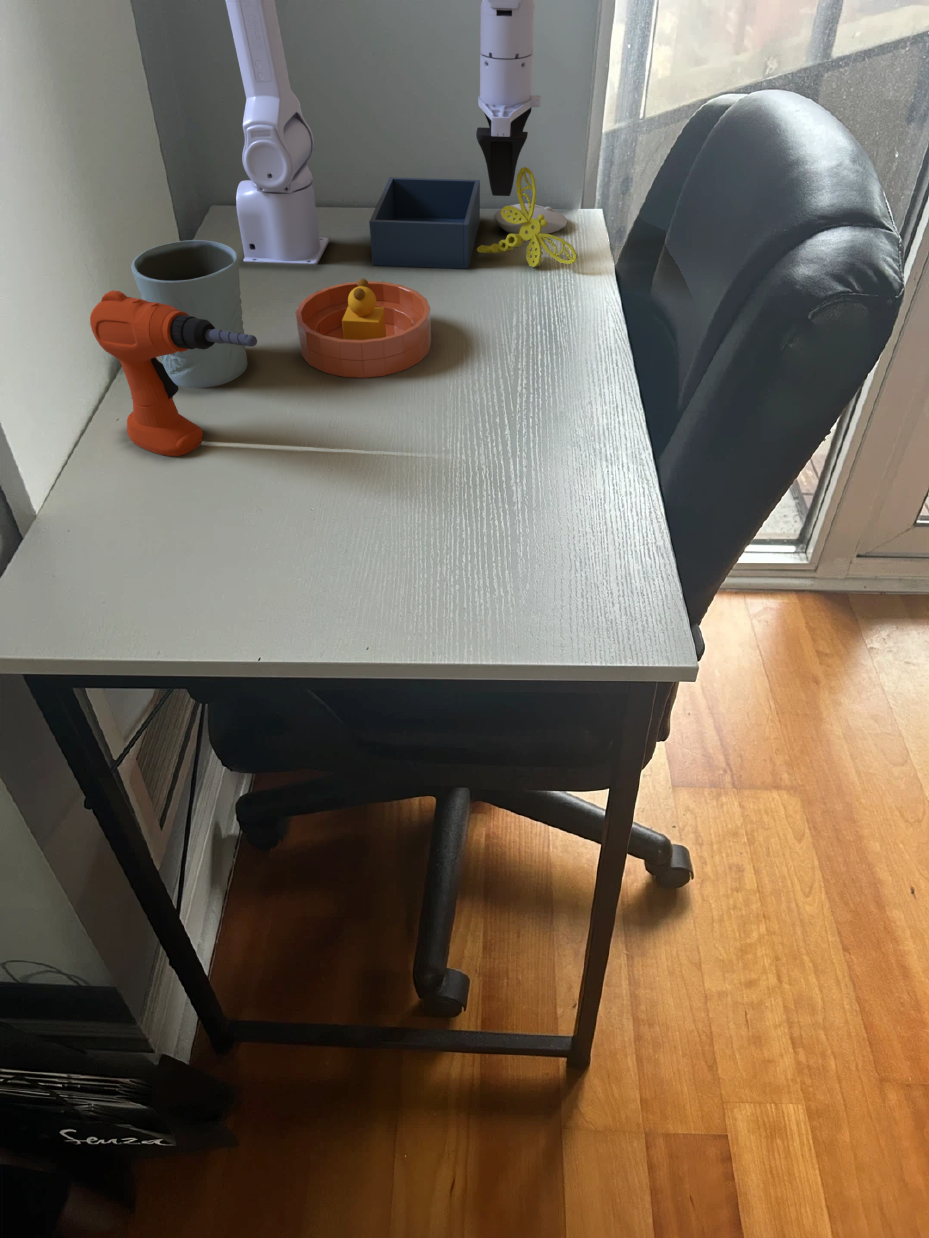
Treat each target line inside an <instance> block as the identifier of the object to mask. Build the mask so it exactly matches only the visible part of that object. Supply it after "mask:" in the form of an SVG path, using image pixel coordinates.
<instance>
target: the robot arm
mask: <svg viewBox="0 0 929 1238" xmlns="http://www.w3.org/2000/svg"><path fill="white" fill-rule="evenodd" d="M225 5H226V9H227V14H228V18H229V24H230V28H231V33H232V38H233V43H234V47H235V51H236V56H237V61H238V64H239V70H240V71H239V72H240V75H241V81H242V86H243V89H244V94H245V95H244V96H245V100H246V101H245V106H244V111H243V118H242V119H243V120H242V131H243V135H244V145H243V149H242V155H241V160H242V166H243V168H244V171H245V173H246V175H247V176H248V178H249V179H248V180H247V179H246V180H241V181H240V182H239V183H238V186H237V188H236V195H235V196H236V197H235V198H236V199H235V201H236V203H235V204H236V214H237V221H238V226H239V227H238V228H239V231H240V232H239V233H240V239H241V243H242V248H243V254H244V258H243V259H242V261H243V262H244V263H264V264H292V265H313V266H315V265H318V264H319V262H320V260H321V258H322V256H323V254H324V253H325V250H326V248H327V247H328V244H329V243H330V239H329V238H328V237H320V232H319V224H318V223H319V222H318V215H317V206H316V198H315V190H314V180H313V174H312V171H311V170H310V168H309V165H308V161H309V160H310V159H311V157H312V155H313V153H314V149H315V138H314V134H313V130H312V129H311V127H310V125H309V124H308V122H307V121H306V119H305V118H304V115H303V113H302V112H303V111H302V108H301V107H302V106H301V102H300V100H299V99H298V97H297V96H296V94H295V93H294V92H293V90H292V88H291V83H290V78H289V72H288V67H287V61H286V57H285V56H286V55H285V50H284V44H283V40H282V35H281V29H280V23H279V18H278V12H277V7H276V1H275V0H225ZM479 7H480V12H479V13H480V16H479V17H480V18H479V19H480V20H479V21H480V22H479V23H480V25H479V29H480V31H479V33H480V35H479V50H480V51H479V95H478V97H477V104H478V105H477V106H478V107H479V108H480V110H481V111H482V112H483V114H484V116H485V119H486V121H487V124H488V127H480V126H478V127H477V129H476V132H475V133H476V135H475V136H476V137H475V138H476V140H477V142H478V145H479V147H480V149H481V151H482V153H483V158H484V159H485V164H486V169H487V175H488V181H489V187H490V192H491V195H492V196H494V197H510V196H511V194H512V190H513V187H514V180H515V175H516V170H517V169H516V168H517V165H518V160H519V157H520V154H521V152H522V149H523V147H524V145H525V143H526V141H527V139H528V135H529V132H528V131H524V129H525V126H526V123H527V121H528V119H529V117H530V115H531V113H532V109H533V108H539V107H542V96H541V95H537V94H536V95H535V94H532V81H533V80H532V79H533V78H532V77H533V76H532V75H533V74H532V73H533V55H534V54H533V52H534V33H535V32H534V28H535V2H534V0H482V1H481V2H480V6H479Z"/></svg>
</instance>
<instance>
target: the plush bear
mask: <svg viewBox="0 0 929 1238" xmlns="http://www.w3.org/2000/svg"><path fill="white" fill-rule="evenodd" d="M368 281H369V280H367V279H365V278H360V279H359V280H358V281H357V282H358V283H357V286H358V287H356V288H354V289H353V290H352V291H351V292H350V294H349V296H348V305H349V306H348V308H347V310H346V312H345V315H344V317H343V319H342V326H343V335H344V339H347V340H367V339H376V338H383V337H386V326H385V312H384V308H382V307H376V297H375V294H374V293H373V291H372V290H371V289H369V288H368V287H369V283H368Z"/></svg>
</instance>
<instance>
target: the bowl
mask: <svg viewBox="0 0 929 1238" xmlns="http://www.w3.org/2000/svg"><path fill="white" fill-rule="evenodd" d="M367 281H368V283H369V287H368V288H369V289H371V290H372V291H373V293H374V294H375V297H376V307H382V308H384V312H385V326H386V337H383V338H376V339H367V340H347V339H344V335H343V326H342V319H343V317H344V315H345V312H346V310H347V308H348V306H349V305H348V296H349V294H350V292H351V291H352V290H353V289H354V288H356V287H358V286H357V283H358V281H350V282H342V283H338V284H335V285H329V286H326V287H325V288H322V289H320V290H317V291H316V292H313V293H310V295H308V296H307V297H306V298H305V299H303V300H302V301H301V302H300V303H299V305H298V306H297V309H296V310H295V313H294V314H295V320H296V327H297V334H298V343H299V349H300V355H301V357H302V359H304V361H305V362H306V363H307V364H308V365H309V366H311V367H313V368H314V369H316V370H318V371H321V372H323V373H325V374H329V375H333V376H337V377H343V378H359V379H366V378H367V379H368V378H376V377H384V376H389V375H392V374H395V373H399V372H402V371H406V370H408V369H409V368H411V367H413V366H415V365H417V364H418V363H420V362H421V361H422V360H423V359H424V358H425V357H426V356H427V355H428V354H429V352H430V348H431V345H432V320H431V319H432V318H431V307H430V304H429V302H428V300H427V298H426V297H425V296H424V295H422V294H421V293H420V292H419V291H417V290H415V289H412V288H410V287H408V286H405V285H403V284H398V283H394V282H388V281H375V280H373V281H372V280H367Z"/></svg>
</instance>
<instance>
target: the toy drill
mask: <svg viewBox="0 0 929 1238" xmlns="http://www.w3.org/2000/svg"><path fill="white" fill-rule="evenodd" d="M89 324H90V328H91V331H92V334H93V337H94V338H95V340H96V341H97V343H98V345H99V346H100V347H101V349H103V351H105V352H106V353H108V354H109V355H111V356H113V357H114V358H116V359H117V360H119V363H120V365H121V367H122V370H123V372H124V375H125V379H126V381H127V385H128V387H129V390H130V395H131V399H132V412H131V413H129V414H128V416H127V419H126V432H127V435H128V438H129V440H130V442H132V443H133V444H134V445H136V446H138V447H140V448H141V449H144V450H146V451H149V452H152V453H154V454H158V455H162V456H166V457H167V456H168V457H179V456H183V455H187V454H189V453H191V452H193V451H195V450H196V449H197V448H198V447H200V445H201V444H202V442H203V440H202V439H203V437H204V434H203V430H202V428H201V427H200V426H198V425H197V424H195V423H194V422H193V421H191V420H189V419H188V418H186V417H185V416H184V415H182V414H180V413H179V410H178V409H177V406H176V403H175V401H174V396H175V395H177V393H178V392H179V385H177V384H175V383H174V382H173V381H172V380H171V378H170V377H169V375H168V374H167V372H166V370H165V368H164V366H163V362H162V361H160V360H159V359H158V357H161V356H163V355H170V354H173V353H176V352H184V351H186V350H188V349H195V348H197V349H208V348H209V347H211V346H212V345H214V344H215V342H216V343H219V344H222V343H227V344H235V345H244V346H245V347H252V348H253V347H255V346H256V345H257V344H258V338H257V337H256V336H255V335H253V334H247V333H244V334H239V333H233V332H232V333H231V332H228V331H222V330H218V329H215V327H214V326H213V325H212V324H211V323H210V322H209V321H208V320H205V319H197V318H196V317H193V316H189V315H188V314H187V313H185V312H181V311H179V310H178V309H176V308H174V307H172V306H170V305H165V304H161V303H157V302H153V303H152V302H149V301H146V300H142V298H136V297H132V296H127V295H126V294H125V293H124V292H122V291H120V290H114V289H113V290H109V291H107V292H106V293H105V294H104V295H103V296H102V297H101V300H100V301H99V302H98V303H97V304H96V305H95V306H94V308H93V309H92V311H91V313H90V316H89Z"/></svg>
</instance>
